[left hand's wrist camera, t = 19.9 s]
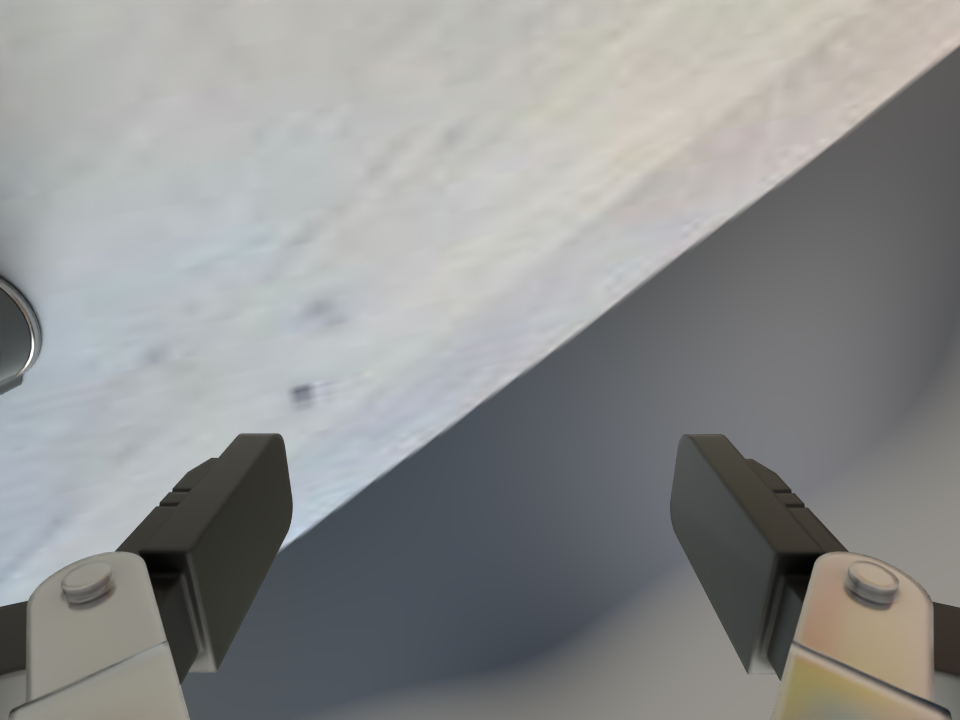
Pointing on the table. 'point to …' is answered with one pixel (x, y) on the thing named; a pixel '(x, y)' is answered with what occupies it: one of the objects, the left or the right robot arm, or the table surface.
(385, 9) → the table surface
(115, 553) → the left robot arm
